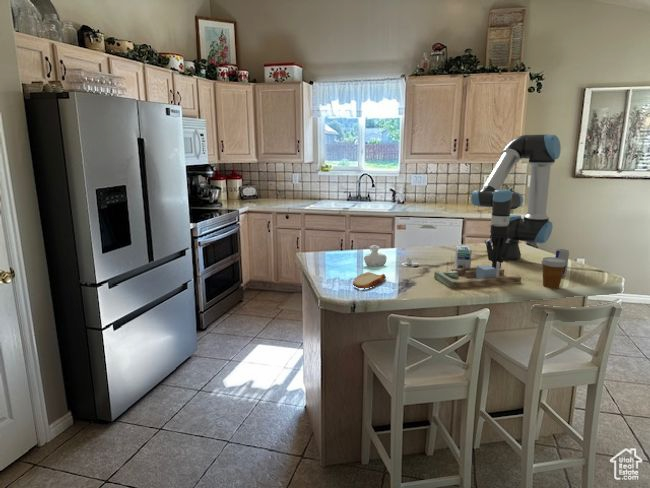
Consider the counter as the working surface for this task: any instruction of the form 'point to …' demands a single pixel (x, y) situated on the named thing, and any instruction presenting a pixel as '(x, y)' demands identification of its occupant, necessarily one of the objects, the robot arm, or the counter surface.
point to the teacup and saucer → (410, 262)
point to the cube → (485, 272)
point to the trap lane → (471, 272)
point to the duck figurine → (375, 257)
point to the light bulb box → (463, 257)
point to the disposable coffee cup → (552, 271)
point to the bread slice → (368, 280)
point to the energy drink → (563, 255)
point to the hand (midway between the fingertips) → (495, 275)
